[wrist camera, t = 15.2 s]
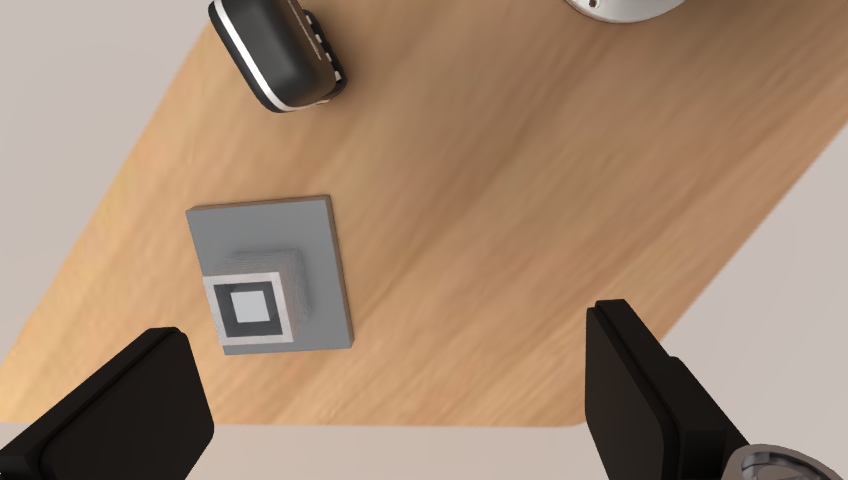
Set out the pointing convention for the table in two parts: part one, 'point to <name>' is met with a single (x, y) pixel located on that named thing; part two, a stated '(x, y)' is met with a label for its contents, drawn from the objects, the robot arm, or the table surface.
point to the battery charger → (279, 52)
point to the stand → (279, 230)
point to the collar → (259, 268)
